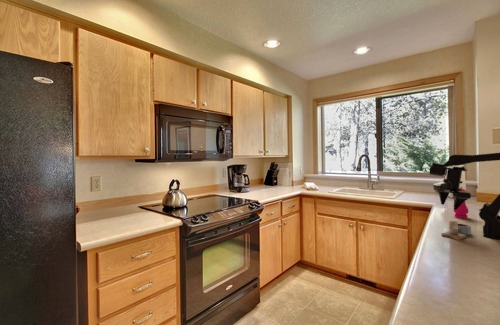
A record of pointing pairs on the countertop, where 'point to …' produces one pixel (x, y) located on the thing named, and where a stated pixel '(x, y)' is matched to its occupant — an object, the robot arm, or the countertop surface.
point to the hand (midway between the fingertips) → (448, 206)
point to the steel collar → (464, 229)
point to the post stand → (453, 231)
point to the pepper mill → (461, 209)
